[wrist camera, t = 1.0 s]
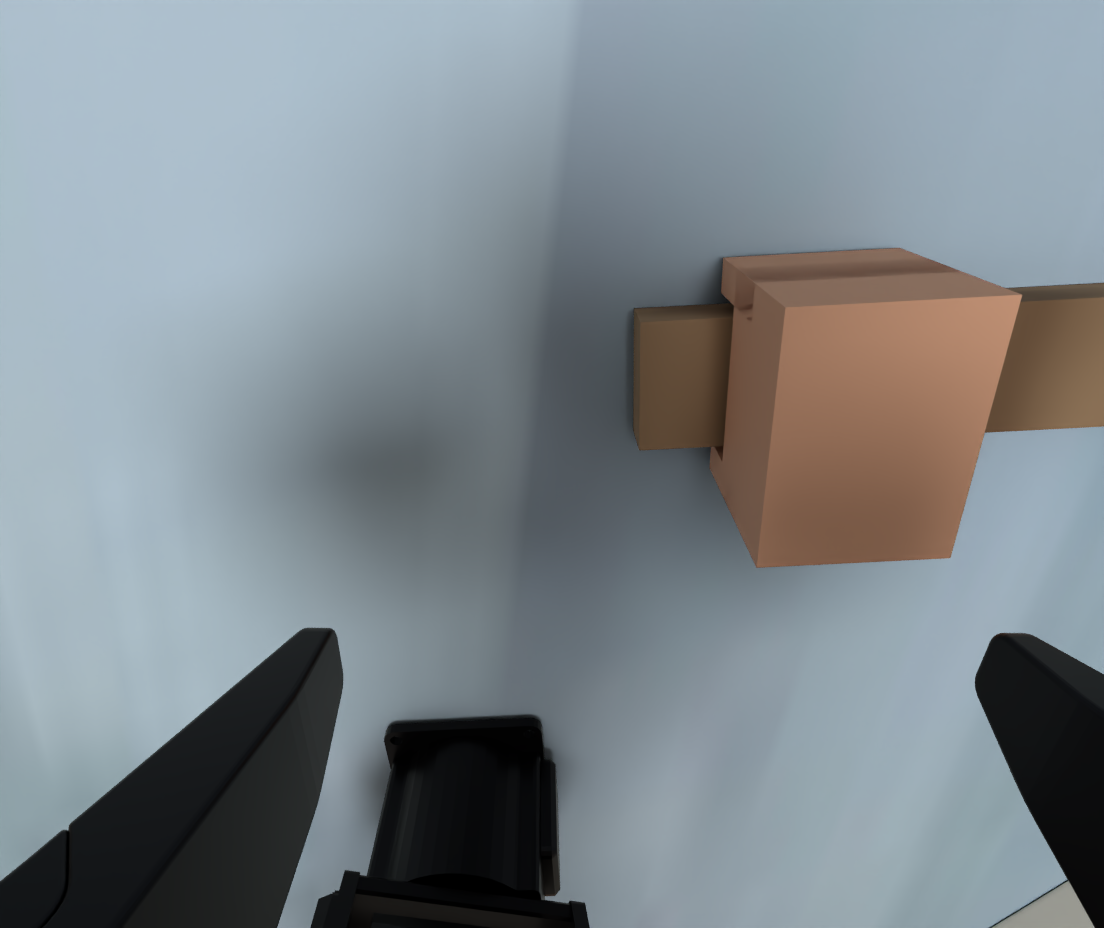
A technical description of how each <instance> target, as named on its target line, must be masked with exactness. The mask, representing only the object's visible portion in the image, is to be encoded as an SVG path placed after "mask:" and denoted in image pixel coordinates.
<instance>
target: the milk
mask: <svg viewBox="0 0 1104 928" xmlns="http://www.w3.org/2000/svg"><path fill="white" fill-rule="evenodd" d="M992 928H1095V927H1094V926H1093V924H1092V922H1091V920H1090V918H1089V917H1088V915H1087V913H1086V911H1085V910H1084V908H1083V906H1082V904H1081V902H1080V901H1079V899H1078V897H1077V895H1076V893H1075V892H1074V890H1073V888H1072V886H1071V884H1070V883H1069V881H1067V882H1065V883H1064V884H1062V885H1061V886H1059V887H1057V888H1056V889H1054V890H1052V891H1051V892H1049V893H1047V894H1046V895H1044V896H1043V897H1041V898H1039V899H1038V900H1036V901H1034V902H1033V903H1031V904H1029V905H1028V906H1026V907H1025V908H1023V909H1021V910H1020V911H1018V912H1016V913H1015V914H1013V915H1012V916H1010V917H1008V918H1007V919H1005V920H1003V921H1002V922H1000V923H998V924H997V925H995V926H994V927H992Z"/></svg>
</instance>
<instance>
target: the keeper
mask: <svg viewBox="0 0 1104 928" xmlns="http://www.w3.org/2000/svg"><path fill="white" fill-rule="evenodd" d="M721 293H722V294H723V295H724V296H725V297H726V298H727V299H728V300H729V301H730V302H731V303H732V304H733V305H734V314H733V327H732V341H731V354H730V367H729V380H728V394H727V407H726V420H725V433H724V446H715V447H711V453H710V470H711V472H712V474H713V477H714V479H715V481H716V483H717V485H718V487H719V489H720V491H721V493H722V496H723V498H724V500H725V502H726V504H727V506H728V508H729V510H730V513H731V515H732V517H733V519H734V521H735V523H736V525H737V527H738V529H739V532H740V534H741V536H742V538H743V540H744V542H745V544H746V546H747V549H748V551H749V553H750V555H751V557H752V559H753V561H754V563H755V565H756V568H760V567H780V566H800V565H820V564H841V563H861V562H881V561H901V560H921V559H941V558H950V557H951V554H952V550H953V546H954V543H955V539H956V535H957V532H958V528H959V524H960V521H961V517H962V514H963V510H964V506H965V503H966V499H967V495H968V492H969V488H970V484H971V481H972V477H973V473H974V470H975V466H976V462H977V459H978V455H979V451H980V448H981V444H982V440H983V437H984V433H985V429H986V426H987V422H988V418H989V415H990V411H991V407H992V404H993V400H994V396H995V393H996V389H997V385H998V382H999V378H1000V374H1001V371H1002V367H1003V364H1004V360H1005V356H1006V353H1007V349H1008V345H1009V342H1010V338H1011V334H1012V331H1013V327H1014V323H1015V320H1016V316H1017V312H1018V309H1019V305H1020V301H1021V298H1022V294H1019V293H1017V292H1014V291H1011V290H1009V289H1006V288H1003V287H1001V286H998V285H996V284H993V283H990V282H988V281H985V280H982V279H980V278H977V277H975V276H972V275H969V274H967V273H964V272H961V271H959V270H956V269H954V268H951V267H948V266H946V265H943V264H940V263H938V262H935V261H933V260H930V259H927V258H925V257H922V256H920V255H917V254H914V253H912V252H909V251H906V250H904V249H901V248H889V249H871V250H853V251H835V252H817V253H798V254H780V255H762V256H744V257H725V258H723V271H722V286H721Z"/></svg>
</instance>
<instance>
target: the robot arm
mask: <svg viewBox="0 0 1104 928" xmlns="http://www.w3.org/2000/svg"><path fill="white" fill-rule="evenodd" d="M342 689H343V669H342V663H341V657H340V651H339V645H338V639H337V635H336V633H335V631H334V630H333V629H331V628H304V629H302V630H300V631H299V632H297V633H296V634H295V635H294V636H293V637H292V638H290V639H289V640H288V641H287V642H286V643H284V644H283V645H282V646H281V647H280V648H278V649H277V650H276V651H275V652H274V653H272V654H271V655H270V656H269V657H268V658H267V659H265V660H264V661H263V662H262V663H261V664H259V665H258V666H257V667H256V668H255V669H253V670H252V671H251V672H250V673H249V674H248V675H246V676H245V677H244V678H243V679H242V680H240V681H239V682H238V683H237V684H236V685H234V686H233V687H232V688H231V689H230V690H229V691H227V692H226V693H225V694H224V695H223V696H221V697H220V698H219V699H218V700H217V701H215V702H214V703H213V704H212V705H211V706H209V707H208V708H207V709H206V710H205V711H204V712H202V713H201V714H200V715H199V716H198V717H196V718H195V719H194V720H193V721H192V722H190V723H189V724H188V725H187V726H186V727H185V728H183V729H182V730H181V731H180V732H179V733H177V734H176V735H175V736H174V737H173V738H171V739H170V740H169V741H168V742H167V743H165V744H164V745H163V746H162V747H161V748H160V749H158V750H157V751H156V752H155V753H154V754H152V755H151V756H150V757H149V758H148V759H146V760H145V761H144V762H143V763H142V764H141V765H139V766H138V767H137V768H136V769H135V770H133V771H132V772H131V773H130V774H129V775H127V776H126V777H125V778H124V779H123V780H121V781H120V782H119V783H118V784H117V785H116V786H114V787H113V788H112V789H111V790H110V791H108V792H107V793H106V794H105V795H104V796H102V797H101V798H100V799H99V800H98V801H97V802H95V803H94V804H93V805H92V806H91V807H89V808H88V809H87V810H86V811H85V812H83V813H82V814H81V815H80V816H79V817H77V818H76V819H75V820H74V821H73V822H72V823H71V824H70V825H69V831H68V830H62V831H61V832H59V833H58V834H57V835H56V836H55V837H53V838H52V839H51V840H50V841H49V842H47V843H46V844H45V845H44V846H43V847H41V848H40V849H39V850H38V851H37V852H35V853H34V854H33V855H32V856H31V857H30V858H28V859H27V860H26V861H25V862H23V863H22V864H21V865H20V866H18V867H17V868H16V869H15V870H14V871H12V872H11V873H10V874H9V875H7V876H6V877H5V878H4V879H2V880H1V881H0V928H277V926H278V923H279V920H280V917H281V914H282V911H283V908H284V905H285V902H286V899H287V896H288V893H289V890H290V887H291V884H292V881H293V878H294V875H295V872H296V869H297V866H298V863H299V859H300V856H301V853H302V850H303V847H304V844H305V841H306V838H307V835H308V832H309V829H310V826H311V823H312V820H313V817H314V814H315V810H316V807H317V804H318V800H319V796H320V792H321V788H322V784H323V779H324V774H325V770H326V765H327V760H328V756H329V751H330V746H331V741H332V737H333V732H334V727H335V723H336V718H337V713H338V709H339V704H340V699H341V694H342ZM975 689H976V693H977V696H978V698H979V701H980V703H981V705H982V707H983V710H984V712H985V714H986V716H987V719H988V721H989V723H990V725H991V728H992V730H993V732H994V735H995V737H996V739H997V741H998V744H999V746H1000V748H1001V750H1002V753H1003V755H1004V757H1005V759H1006V762H1007V764H1008V766H1009V769H1010V771H1011V773H1012V775H1013V778H1014V780H1015V782H1016V784H1017V786H1018V788H1019V791H1020V793H1021V795H1022V797H1023V799H1024V801H1025V803H1026V805H1027V807H1028V809H1029V811H1030V813H1031V814H1032V816H1033V818H1034V820H1035V822H1036V824H1037V825H1038V827H1039V829H1040V831H1041V833H1042V834H1043V836H1044V838H1045V840H1046V842H1047V843H1048V845H1049V847H1050V849H1051V850H1052V852H1053V854H1054V856H1055V858H1056V859H1057V861H1058V863H1059V865H1060V867H1061V868H1062V870H1063V872H1064V874H1065V876H1066V877H1067V879H1068V881H1069V883H1070V884H1071V886H1072V888H1073V890H1074V892H1075V893H1076V895H1077V897H1078V899H1079V901H1080V902H1081V904H1082V906H1083V908H1084V910H1085V911H1086V913H1087V915H1088V917H1089V918H1090V920H1091V922H1092V924H1093V926H1094V927H1095V928H1104V674H1102V673H1100V672H1098V671H1096V670H1095V669H1093V668H1091V667H1089V666H1087V665H1086V664H1084V663H1082V662H1080V661H1078V660H1077V659H1075V658H1073V657H1071V656H1069V655H1068V654H1066V653H1064V652H1062V651H1060V650H1058V649H1057V648H1055V647H1053V646H1051V645H1049V644H1048V643H1046V642H1044V641H1042V640H1040V639H1039V638H1037V637H1035V636H1033V635H1030V634H1026V633H1000V634H997V635H996V636H994V637H993V638H992V639H991V641H990V643H989V646H988V648H987V650H986V653H985V655H984V657H983V660H982V662H981V664H980V667H979V669H978V671H977V674H976V677H975ZM527 730H532V731H527ZM395 736H396V737H395ZM384 742H385V747H386V751H387V755H388V759H389V763H390V767H391V772H390V776H389V781H388V785H387V789H386V794H385V798H384V803H383V807H382V811H381V816H380V820H379V825H378V829H377V833H376V838H375V842H374V847H373V851H372V855H371V860H370V864H369V868H368V873H367V876H363V875H360V872H355V871H348V870H345V872H344V876H343V879H342V883H341V886H340V890H339V891H336V890H335V893H334V892H333V893H332V894H330V895H327V896H325V897H322V898H320V899H319V900H318V903H317V907H316V910H315V914H314V917H313V921H312V925H311V928H590V927H589V922H588V917H587V912H586V906H585V903H583V902H576V901H569V903H562V902H554V901H547V900H545V896H555V895H556V894H557V893H558V891H559V890H560V860H559V819H558V793H557V779H556V765H555V763H554V762H553V761H552V760H551V759H546V760H545V757H544V745H543V733H542V725H541V723H540V722H539V721H538V720H536V719H534V718H519V719H498V720H477V721H457V722H436V723H415V724H396V725H391V726H390V727H388V728H387V730H386V734H385V738H384Z"/></svg>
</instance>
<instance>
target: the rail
mask: <svg viewBox="0 0 1104 928" xmlns="http://www.w3.org/2000/svg"><path fill="white" fill-rule="evenodd" d="M1006 289H1009V290H1011V291H1014V292H1017V293H1019V294H1022V298H1021V301H1020V305H1019V309H1018V312H1017V316H1016V320H1015V323H1014V327H1013V331H1012V334H1011V338H1010V342H1009V345H1008V349H1007V353H1006V356H1005V360H1004V364H1003V367H1002V371H1001V374H1000V378H999V382H998V385H997V389H996V393H995V396H994V400H993V404H992V407H991V411H990V415H989V418H988V422H987V426H986V429H985V432H1004V431H1024V430H1043V429H1062V428H1081V427H1101V426H1104V283H1094V284H1075V285H1057V286H1038V287H1020V288H1006ZM733 314H734V305H733V304H732V303H724V304H706V305H687V306H669V307H650V308H634V392H633V431H634V434H635V438H636V441H637V445H638V448H639V450H657V449H676V448H696V447H715V446H724V433H725V420H726V407H727V394H728V380H729V367H730V354H731V341H732V327H733Z"/></svg>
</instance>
